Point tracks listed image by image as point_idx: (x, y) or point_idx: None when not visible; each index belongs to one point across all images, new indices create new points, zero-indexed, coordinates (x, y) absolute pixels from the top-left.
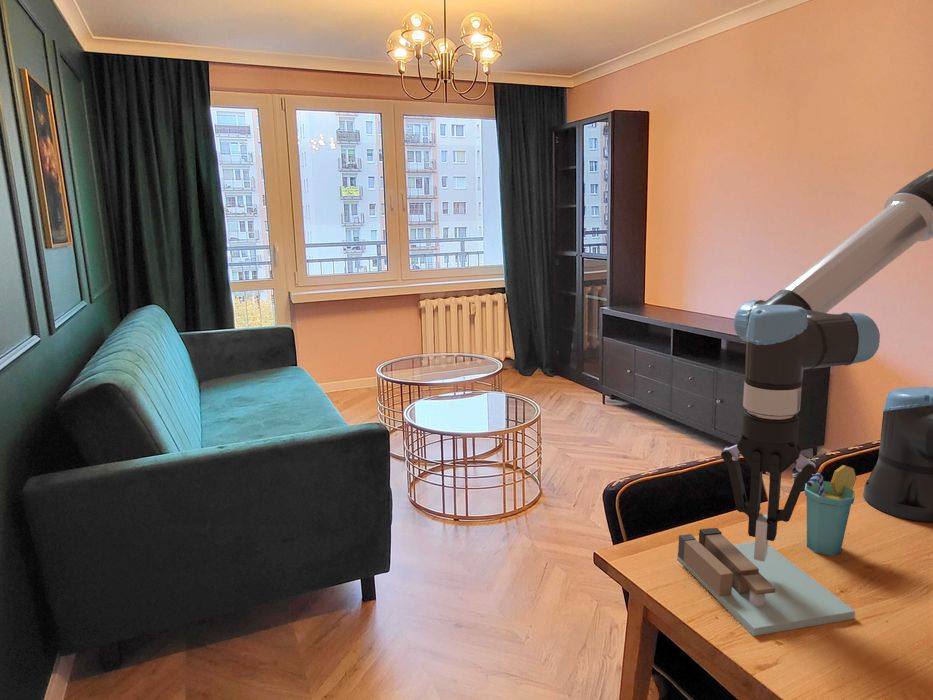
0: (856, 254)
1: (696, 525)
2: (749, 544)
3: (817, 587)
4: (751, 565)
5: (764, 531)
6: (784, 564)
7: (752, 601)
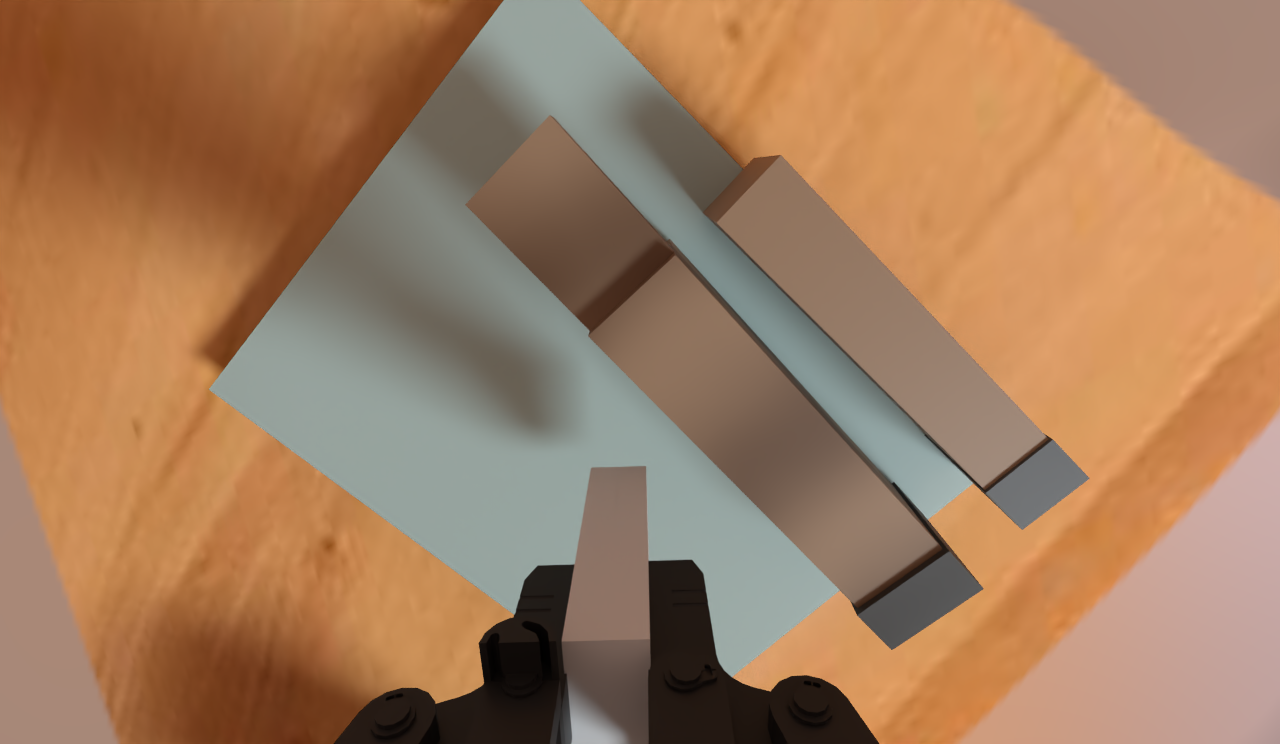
0: None
1: (950, 735)
2: None
3: (386, 489)
4: (633, 352)
5: (585, 585)
6: None
7: None
